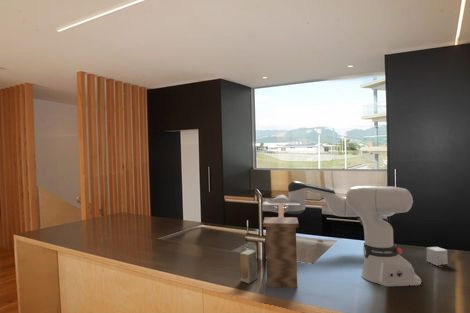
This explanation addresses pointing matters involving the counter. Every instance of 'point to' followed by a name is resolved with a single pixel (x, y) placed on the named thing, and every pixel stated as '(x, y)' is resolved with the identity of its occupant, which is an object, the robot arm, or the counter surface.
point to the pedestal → (281, 251)
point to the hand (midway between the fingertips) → (281, 209)
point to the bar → (281, 210)
